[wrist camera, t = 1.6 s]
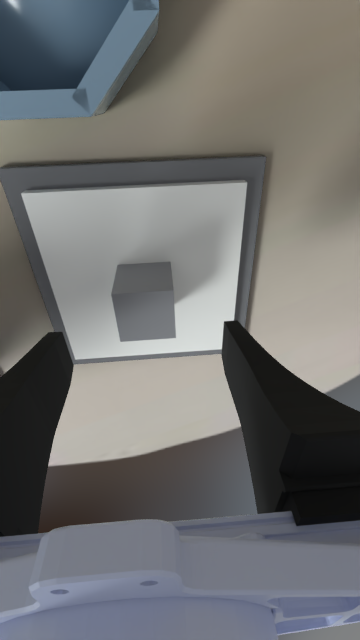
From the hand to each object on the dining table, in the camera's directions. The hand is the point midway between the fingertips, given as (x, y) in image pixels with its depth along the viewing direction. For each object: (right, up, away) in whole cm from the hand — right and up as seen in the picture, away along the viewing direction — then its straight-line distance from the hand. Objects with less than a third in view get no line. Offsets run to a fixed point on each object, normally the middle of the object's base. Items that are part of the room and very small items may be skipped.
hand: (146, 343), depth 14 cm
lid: (0, +3, +5) cm, 6 cm away
